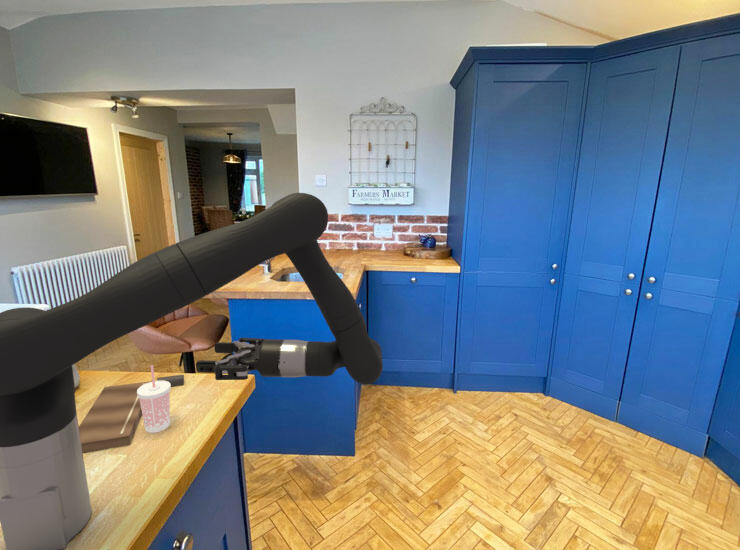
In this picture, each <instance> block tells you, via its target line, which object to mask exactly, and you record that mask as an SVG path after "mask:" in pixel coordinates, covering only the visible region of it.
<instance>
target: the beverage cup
mask: <svg viewBox="0 0 740 550" xmlns="http://www.w3.org/2000/svg"><path fill="white" fill-rule="evenodd" d="M150 371H151V372H150V373H151V375H150V376H151V381H152V382H149V381H148V382H149V383H146V384H144V385H142V386H141V387H139V388H138V389H137V394H138V395H137V396H138V397H139V399H140V404H141V410H142V420H143V424H144V429H145V431H146V432H147V433H159V432H162V431H163V430H166V429H167V428H168V427H169V426H170V425H171V415H170V414H171V407H170V404H171V403H170V397H171V396H170V394H171V393H170V392H171V388H172V387H171V383H169V382H168V381H156V379H155V370H154V365H153V364H152V365H150Z"/></svg>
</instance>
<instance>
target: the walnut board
mask: <svg viewBox="0 0 740 550" xmlns="http://www.w3.org/2000/svg"><path fill="white" fill-rule="evenodd" d="M155 381H168V382H169V383H171V388H172V387H181V386H184V383H185V376H184V374H177V375H170V376H169V375H168V376H161V377H157V378H156V379H155ZM149 382H152V380H151V381H150V380H149V381H144V382H143V381H142V382H135V383H125V384H119V385H116V384H115V385H110V386H109V385H108V386H104V387H103V389H102V390H101V392H100V394H99V395H98V397H97V398H96V400H95V401H94V403H93V404H92V406H91V407H90V409H89V411H88V412H87V414H86V415H85V417H84V418H83V420H82V421H81V423H80V424H79V433H80V439H81V446H82V452H83V453H90V452H95V451H102V450H107V449H113V448H119V447H123V446H130V445H131V444H132V440H133V439H134V436H135V433H136V431H137V427H138V426H139V423H140V420H141V418H142V417H143V415H142V410H141V404H140V399H139V397H138V396H137V395H138V394H137V389H138V388H139V387H141V386H142V385H144V384H146V383H149Z"/></svg>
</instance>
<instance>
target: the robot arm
mask: <svg viewBox="0 0 740 550" xmlns="http://www.w3.org/2000/svg"><path fill="white" fill-rule="evenodd" d="M328 222H329V212H328V208H327V207H326V205H325V204H324V202H323V201H322V200H321V199H320V198H318V197H316V196H315V195H313V194H309V193H307V192H294V193H290V194H288V195H285V196H284V197H282V198H279V200H276V201H274V203H273V204H272V205H271V206H269V207H268V208H266V209H264V210H263V211H260V212H259V213H256V214H255V215H253V216H251V217H249V218H247V219H244V220H242V221H239V222H237V223H233V224H231V225H227V226H223V227H219V228H217V229H213V230H210V231H205V232H203V233H200V234H198V235H194V236H191V237H189V238H186V239H183V240H181V241H178V242H175V243H173V244H171V245H169V246H166V247H164V248H161V249H159V250H157V251H155V252H152V253H150V254H148V255H146V256H144V257H141V258H140V259H139V260H136V261H135V262H133V263H132V264H129V265H128V266H126V267H125V268H123V269H122V270H121V271H119V272H117V273H115V274H114V275H113V276H111V277H110V278H108V279H106V280H105V281H104V282H102V283H101V284H99V285H97V286H96V287H95V288H93V289H91V290H89V291H88V292H86V293H84V294H82V295H80V296H78V297H76V298H74V299H72V300H69V301H67V302H65V303H62V304H60V305H57V306H55V307H52V308H49V309H47V310H44V309H40V308H36V307H25V306H24V307H15V308H14V307H13V308H10V309H7V310H4V311H1V312H0V529H1V531H2V535H3V540H4V544H5V545H4V546H5V550H62V549H65V548H66V547H67V545H68V543H69V541H71V540H72V539H73V538H74V537H75V536H76V535H78V534H79V533H80V531H82V530H83V529H84V528H85V526H86V525H88V524H87V523H88V522H89V520H90V518H91V516H92V504H91V498H90V497H91V496H90V493H89V492H90V491H89V485H88V480H87V473H86V468H85V467H86V466H85V460H84V459H85V458H84V454H83V452H82V446H81V439H80V433H79V426H80V424H79V420H78V414H77V413H78V412H77V405H76V395H75V394H76V388H75V385H74V377H73V369H72V365H74V364H75V365H76V364H77V363H79V362H80V361H82V360H83V359H85V358H86V357H88V356H90V355H92V354H93V353H95V352H96V351H98V350H99V349H102V348H103V347H105V346H107V345H108V344H110V343H112V342H114V341H115V340H117V339H119V338H121V337H123V336H125V335H128V334H130V333H132V332H135V331H137V330H139V329H141V328H143V327H146V326H148V325H150V324H152V323H153V322H156V321H157V320H160V319H162V318H164V317H165V316H168V315H170V314H171V313H174V312H175V311H179V310H181V309H182V308H183V309H184V308H185V307H187V306H189V305H191V304H192V303H195V302H196V301H199V300H200V299H203V298H205V297H206V296H209V295H210V294H212V293H214V292H215V291H218V290H219V289H221V288H223V287H225V286H226V285H228V284H230V283H231V282H233V281H235V280H236V279H239V278H240V277H241V276H243V275H244V274H246V273H248V272H250V271H251V270H252V269H254V268H256V267H257V266H259V265H261V264H263V263H264V262H266V261H268V260H270V259H271V260H272V259H273V258H276V257H278V256H280V255H282V254H285V255H286V256H287V258H288V259H289V261H290V262H291V263H292V264H293V266H294V268H295V269H296V271H297V273H298V274H299V275H300V277H301V279H302V280H303V282H304V283H305V285H306V287H307V289H308V290H309V292H310V294H311V295H312V297H313V299H314V301H315V303H316V306H317V307H318V309H319V310H320V313H321V314H322V317H323V318H324V321H325V323H326V324H327V327H328V328H329V330H330V332H331V334H332V335H333V337H334V339H335V340H333V341H314V340H313V341H312V340H311V341H309V340H308V341H307V340H302V339H301V340H300V339H277V338H276V339H275V338H274V339H272V338H267V339H266V338H258V337H256V338H255V337H240V338H238V340H234V341H232V342H220V341H219V342H218V341H217V342H215V344H214V352H215V353H217V354H231V355H228V356H227V357H226V358H224V359H221V360H202V359H201V360H197V361H196V362H195V369H196V372H197V373H204V374H205V373H212V374H213V373H214V376H215V377H214V378H215V380H216V381H244V380H247V379H249V372H251V371H257V372H258V373H259V375H260V376H261V377H263V378H264V377H265V378H266V377H267V378H276V377H277V378H300V377H321V378H322V377H330V376H333V375H334V373H335V372H336V371H337V370H338V369H341V368H345V369H346V371H347V374H348V375H349V376H350V378H351V379H352V380H353V381H355V382H356V383H359V384H361V385H371V384H374V383H375V382H376V381H378V380H379V379H380V377H381V375H382V372H383V368H384V367H383V352H382V347H381V345H380V344H379V343H378V342H377V340H375V339H374V338H373V339H372V338H370V336H369V333H368V329H367V324H366V320H365V318H364V315H363V314H362V310H360V308H359V306H358V303H357V301H356V299H355V298H354V295H353V294H352V292H351V291H350V289H349V287H348V286H347V285H346V283H345V282H344V281H343V280H342V279H341V277H340V276H339V274H338V273H337V272H336V271H335V270H334V268H333V267H332V265H331V264H330V262H329V261H328V260H327V258H326V257H325V255H324V253H323V251H322V249H321V247H320V243H319V241H318V240H319V239H320V238H321V237H322V235H324V232H325V231H326V230H327V226H328Z"/></svg>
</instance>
